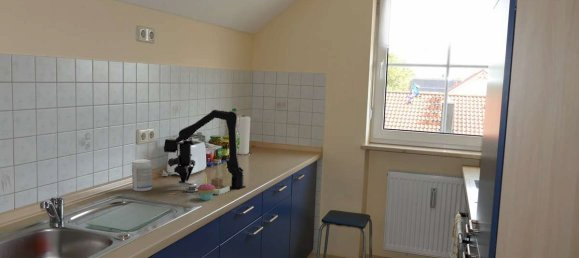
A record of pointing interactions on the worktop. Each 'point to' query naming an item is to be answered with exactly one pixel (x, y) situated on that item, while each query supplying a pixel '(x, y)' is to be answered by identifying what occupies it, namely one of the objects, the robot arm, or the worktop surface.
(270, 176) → the worktop surface
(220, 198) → the worktop surface
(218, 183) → the stop block
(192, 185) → the crank
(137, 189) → the supplement tub
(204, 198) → the cupcake
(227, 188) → the tray
